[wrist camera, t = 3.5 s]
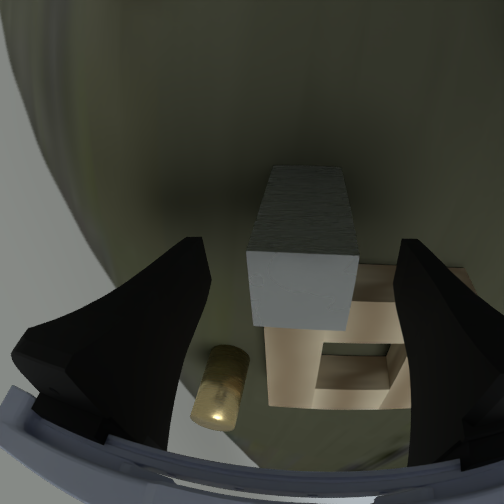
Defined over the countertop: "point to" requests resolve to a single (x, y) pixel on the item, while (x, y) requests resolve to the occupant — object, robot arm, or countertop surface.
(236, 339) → the countertop surface
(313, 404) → the socket block
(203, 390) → the cylinder
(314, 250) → the square bit
